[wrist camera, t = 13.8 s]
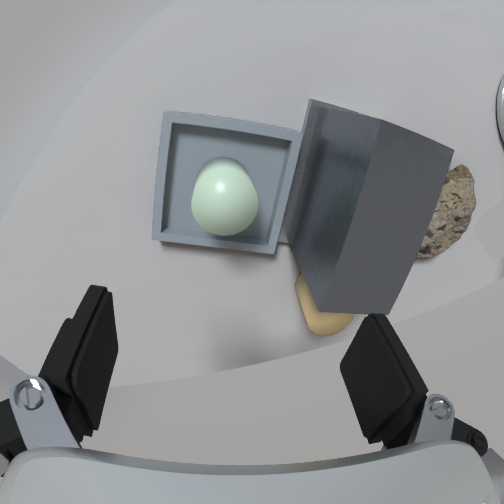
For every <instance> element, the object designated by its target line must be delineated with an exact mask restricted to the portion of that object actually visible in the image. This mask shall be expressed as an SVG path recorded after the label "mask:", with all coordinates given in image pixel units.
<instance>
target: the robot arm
mask: <svg viewBox="0 0 504 504" xmlns="http://www.w3.org/2000/svg"><path fill="white" fill-rule="evenodd" d="M497 119H498V126H499V131H500V134H501V137H502V140H503V142H504V77H503V79H502V81H501V84H500V86H499V91H498V95H497ZM117 354H118V340H117V333H116V325H115V317H114V308H113V298H112V293H111V292H108V291H107V288H106V287H103V286H96V285H90V287H89V288H88V290H87V292H86V294H85V296H84V298H83V300H82V301H81V303H80V305H79V307H78V309H77V311H76V313H75V315H74V317H73V319H71V318H67V319H66V320H65V321H64V323H63V325H62V326H61V328H60V330H59V332H58V334H57V337H56V339H55V341H54V343H53V345H52V347H51V349H50V351H49V353H48V355H47V358H46V360H45V362H44V364H43V366H42V369H41V371H40V373H39V376H38V377H37V376H31V375H29V376H24V377H21V378H19V379H17V380H16V381H15V382H14V383H13V385H12V387H11V388H10V393H9V399H6V400H4V401H2V402H0V477H3V479H2V482H1V485H0V504H504V460H503V459H502V458H501V457H500V456H499V455H498V454H497V453H496V452H495V451H494V450H493V449H492V448H489V449H488V443H487V440H486V438H485V436H484V435H483V434H482V432H480V431H479V430H477V429H475V428H473V427H472V426H470V425H468V424H466V423H464V422H462V421H460V420H459V419H457V418H455V417H454V415H455V412H454V407H453V405H452V403H451V402H450V401H449V400H448V399H447V398H446V397H444V396H442V395H440V394H432V395H430V396H429V397H427V396H426V393H427V392H428V389H427V387H426V385H425V383H424V381H423V379H422V378H421V376H420V374H419V372H418V370H417V369H416V367H415V365H414V363H413V361H412V360H411V358H410V356H409V354H408V353H407V351H406V349H405V347H404V346H403V344H402V342H401V341H400V339H399V337H398V335H397V334H396V332H395V331H394V329H393V327H392V325H391V324H390V322H389V320H388V319H387V317H386V316H385V315H384V314H379V313H370V314H369V315H368V316H367V317H365V318H364V320H363V322H362V323H361V325H360V327H359V329H358V331H357V333H356V335H355V337H354V339H353V341H352V343H351V345H350V346H349V348H348V350H347V352H346V354H345V356H344V357H343V359H342V361H341V363H340V371H341V374H342V376H343V379H344V382H345V385H346V387H347V390H348V393H349V396H350V399H351V401H352V404H353V407H354V410H355V413H356V416H357V418H358V421H359V424H360V427H361V430H362V433H363V435H364V437H366V438H367V439H368V442H369V444H372V443H377V442H381V441H383V444H384V445H383V447H382V450H381V451H378V452H373V453H368V454H363V455H357V456H351V457H345V458H338V459H331V460H323V461H315V462H305V463H293V464H278V465H206V464H189V463H179V462H169V461H159V460H152V459H144V458H137V457H131V456H124V455H118V454H113V453H107V452H101V451H95V450H90V449H83V448H82V446H81V444H80V442H81V441H82V440H83V436H84V435H85V436H90V437H92V433H93V430H98V428H99V424H100V420H101V416H102V411H103V407H104V403H105V399H106V395H107V391H108V387H109V383H110V380H111V376H112V372H113V369H114V365H115V361H116V358H117Z"/></svg>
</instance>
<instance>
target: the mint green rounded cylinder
mask: <svg viewBox="0 0 504 504" xmlns="http://www.w3.org/2000/svg"><path fill="white" fill-rule="evenodd" d="M258 206H259V201H258V196H257V193H256V190H255V188H254V185H253V183H252V181H251V178H250V176H249V174H248V171H247V169H246V168H245V167H244V165H243V164H242V163H240V162H239V161H238V160H236V159H233V158H230V157H217V158H214V159H211V160H209V161H208V162H207V163H205V164H204V165H203V166H202V168H201V169H200V171H199V173H198V175H197V179H196V183H195V187H194V192H193V196H192V201H191V208H192V213H193V216H194V218H195V220H196V221H197V223H198V224H199V225H200V226H201V227H202V228H203V229H204V230H206V231H208V232H210V233H212V234H215V235H221V236H228V235H233V234H237V233H239V232H241V231H243V230H244V229H246V228H247V227H248V226H249V225H250V224H251V223H252V222H253V220H254V219H255V217H256V214H257V211H258Z"/></svg>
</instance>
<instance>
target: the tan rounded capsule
mask: <svg viewBox="0 0 504 504" xmlns="http://www.w3.org/2000/svg"><path fill="white" fill-rule="evenodd" d="M295 291H296V294H297V296H298V299H299V302H300V305H301V307H302V310H303V313H304V316H305V318H306V321H307V324H308V327H309V329H310V330H311V331H312V332H313V333H314V334H317V335H321V336H327V335H332V334H335V333H338V332H340V331H341V330H343V329H344V328H345V327H346V326H347V325H348V324H349V323H350V322H351V320H352V318H353V315H354V314H349V313H327V312H318V309H317V307H316V305H315V302H314V300H313V297H312V295H311V293H310V290H309V288H308V286H307V283H306V281H305V279H304V276H303V274H302V273H301V274H300V275H299V276H298V278H297V280H296V282H295Z"/></svg>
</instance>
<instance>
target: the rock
mask: <svg viewBox="0 0 504 504" xmlns="http://www.w3.org/2000/svg"><path fill="white" fill-rule="evenodd" d="M475 206H476V198H475V194H474V179H473V176H472V174H471V173H470V171H469V169H468V168H467V167H466V166H464V165H459V166H457V167H456V168H455V169H454V170H450V171H448V173H447V176H446V179H445V182H444V185H443V188H442V191H441V194H440V197H439V200H438V203H437V206H436V208H435V211H434V214H433V217H432V219H431V222H430V224H429V227H428V229H427V232H426V235H425V237H424V239H423V242H422V244H421V247H420V249H419V251H418V254H417V256H416V257H421V258H424V257H428V258H431V257H433V256H435V255H438V254H440V253H441V252H443V251H445V250H446V249H447V248H449V246H450V245H451V244H452V243H454V242H455V241H457V240H459V239H460V238H461V235H462V234H463V233H464V232H465V231H466V230H467V228H468V225H469V223H470V220H471V216H472V213H473V211H474V209H475Z"/></svg>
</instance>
